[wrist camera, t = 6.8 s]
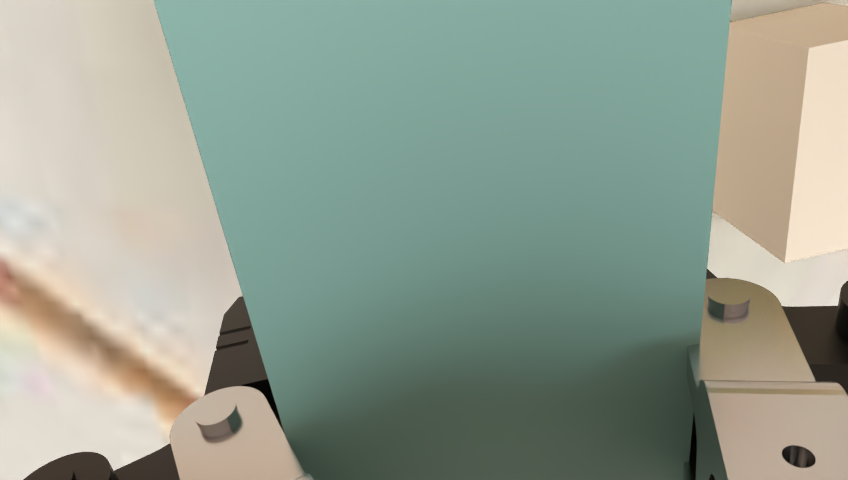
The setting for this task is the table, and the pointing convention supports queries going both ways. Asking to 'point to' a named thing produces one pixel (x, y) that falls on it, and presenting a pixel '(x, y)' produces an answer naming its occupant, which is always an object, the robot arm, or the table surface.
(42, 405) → the table surface
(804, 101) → the cream brick
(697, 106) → the teal brick
